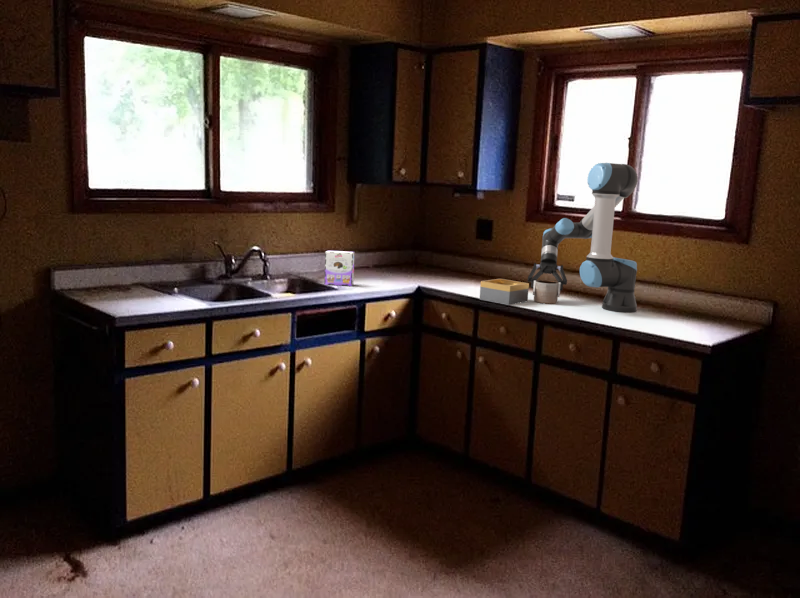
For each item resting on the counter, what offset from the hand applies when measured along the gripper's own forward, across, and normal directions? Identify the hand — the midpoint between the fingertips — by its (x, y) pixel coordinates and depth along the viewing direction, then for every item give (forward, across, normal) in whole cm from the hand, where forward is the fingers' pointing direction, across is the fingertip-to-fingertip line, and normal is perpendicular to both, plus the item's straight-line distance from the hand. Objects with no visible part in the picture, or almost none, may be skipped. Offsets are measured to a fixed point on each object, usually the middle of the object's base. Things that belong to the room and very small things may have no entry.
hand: (546, 294), depth 344 cm
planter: (+1, 0, -5) cm, 5 cm away
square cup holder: (+5, +19, -1) cm, 20 cm away
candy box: (+1, +100, -6) cm, 100 cm away
